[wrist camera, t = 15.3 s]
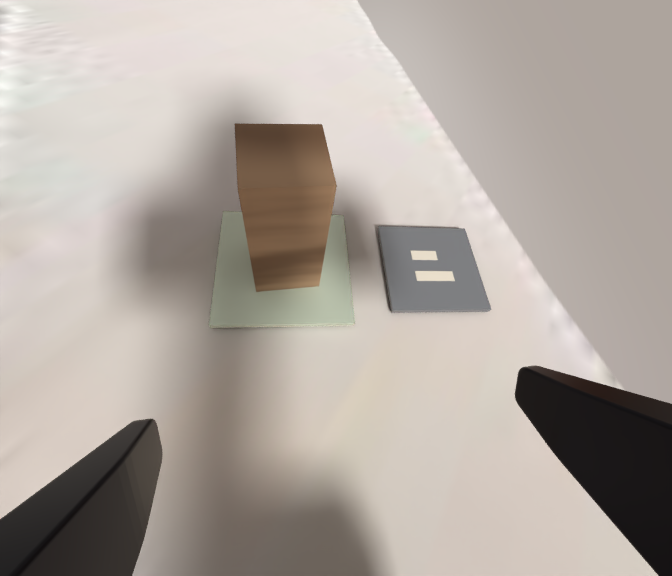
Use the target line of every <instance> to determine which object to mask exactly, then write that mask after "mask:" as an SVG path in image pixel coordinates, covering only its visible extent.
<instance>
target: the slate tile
mask: <svg viewBox="0 0 672 576" xmlns="http://www.w3.org/2000/svg"><path fill="white" fill-rule="evenodd" d="M378 235H379V241H380V247H381V253H382V259H383V265H384V272H385V278H386V284H387V290H388V296H389V302H390V308H391V313H400V312H488V311H490V310H491V307H490V304H489V301H488V298H487V295H486V292H485V289H484V286H483V283H482V280H481V277H480V274H479V271H478V267H477V264H476V261H475V258H474V255H473V252H472V249H471V246H470V243H469V240H468V237H467V234H466V231H465V229H460V228H426V227H392V226H378Z"/></svg>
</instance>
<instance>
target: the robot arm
mask: <svg viewBox="0 0 672 576" xmlns="http://www.w3.org/2000/svg"><path fill="white" fill-rule="evenodd" d="M515 398H516V401H517V403H518V405H519V406H520V408H521V409H522V410H523V412H524V413H525V415H526V416H527V417H528V419H529V420H530V421H531V423H532V424H533V426H534V427H535V428H536V430H537V431H538V432H539V434H540V435H541V437H542V438H543V439H544V441H545V442H546V443H547V445H548V446H549V447H550V449H551V450H552V451H553V453H554V454H555V455H556V457H557V458H558V459H559V460H560V461H561V463H562V464H563V465H564V466H565V467H566V468H567V470H568V471H569V472H570V473H571V474H572V475H573V477H574V478H575V479H576V480H577V481H578V482H579V484H580V485H581V486H582V487H583V488H584V489H585V491H586V492H587V493H588V494H589V495H590V496H591V498H592V499H593V500H594V501H595V502H596V503H597V505H598V506H599V507H600V508H601V509H602V510H603V512H604V513H605V514H606V515H607V516H608V517H609V519H610V520H611V521H612V522H613V523H614V524H615V526H616V527H617V528H618V529H619V530H620V531H621V532H622V534H623V535H624V536H625V537H626V538H627V539H628V541H629V542H630V543H631V544H632V545H633V546H634V548H635V549H636V550H637V551H638V552H639V553H640V555H641V556H642V557H643V558H644V559H645V560H646V562H647V563H648V564H649V565H650V566H651V567H652V569H653V570H654V571H655V572H656V573H657V574H658V576H672V404H670V403H667V402H663V401H659V400H656V399H652V398H649V397H645V396H642V395H638V394H635V393H631V392H628V391H624V390H621V389H617V388H614V387H610V386H607V385H603V384H600V383H596V382H593V381H589V380H586V379H582V378H579V377H575V376H572V375H568V374H565V373H561V372H557V371H554V370H550V369H547V368H543V367H540V366H528V367H522V368H521V369H520V370H519V372H518V377H517V384H516V390H515ZM161 463H162V446H161V441H160V437H159V432H158V427H157V423H156V421H155V420H154V419H145V420H137V421H133V422H131V423H130V424H128V425H127V426H126V427H124V428H123V429H122V430H120V431H119V432H118V433H116V434H115V435H114V436H112V437H111V438H109V439H108V440H107V441H105V442H104V443H103V444H101V445H100V446H99V447H97V448H96V449H95V450H93V451H92V452H91V453H89V454H88V455H86V456H85V457H84V458H82V459H81V460H80V461H78V462H77V463H76V464H74V465H73V466H72V467H70V468H69V469H68V470H66V471H65V472H64V473H62V474H61V475H59V476H58V477H57V478H55V479H54V480H53V481H51V482H50V483H49V484H47V485H46V486H45V487H43V488H42V489H41V490H39V491H38V492H36V493H35V494H34V495H32V496H31V497H30V498H28V499H27V500H26V501H24V502H23V503H22V504H20V505H19V506H18V507H16V508H15V509H13V510H12V511H11V512H9V513H8V514H7V515H5V516H4V517H3V518H1V519H0V576H132V574H133V571H134V568H135V565H136V562H137V559H138V556H139V553H140V550H141V547H142V543H143V540H144V537H145V533H146V529H147V525H148V520H149V516H150V511H151V507H152V503H153V498H154V494H155V489H156V485H157V480H158V476H159V471H160V467H161Z"/></svg>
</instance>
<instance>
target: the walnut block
mask: <svg viewBox="0 0 672 576" xmlns="http://www.w3.org/2000/svg"><path fill="white" fill-rule="evenodd" d="M235 140H236V161H237V183H238V193H239V199H240V204H241V210H242V215H243V221H244V227H245V232H246V238H247V243H248V249H249V255H250V260H251V266H252V271H253V277H254V283H255V288H256V292H261V291H272V290H283V289H294V288H305V287H316V286H319V284H320V278H321V272H322V267H323V261H324V255H325V249H326V244H327V238H328V232H329V226H330V221H331V215H332V209H333V203H334V198H335V192H336V181H335V177H334V173H333V169H332V164H331V160H330V156H329V152H328V147H327V143H326V139H325V135H324V131H323V126H322V124H235Z"/></svg>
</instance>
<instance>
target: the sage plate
mask: <svg viewBox="0 0 672 576" xmlns="http://www.w3.org/2000/svg"><path fill="white" fill-rule="evenodd" d="M354 324H355V319H354V309H353V300H352V290H351V281H350V271H349V262H348V252H347V243H346V233H345V224H344V215H331V221H330V226H329V232H328V238H327V244H326V249H325V255H324V261H323V267H322V272H321V278H320V284H319V286H316V287H305V288H294V289H283V290H272V291H261V292H256V288H255V283H254V277H253V271H252V266H251V260H250V255H249V249H248V243H247V238H246V232H245V227H244V221H243V215H242V212H234V211H223V215H222V223H221V231H220V239H219V247H218V255H217V263H216V271H215V279H214V287H213V295H212V303H211V311H210V319H209V326H210V328H237V327H297V326H354Z"/></svg>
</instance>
